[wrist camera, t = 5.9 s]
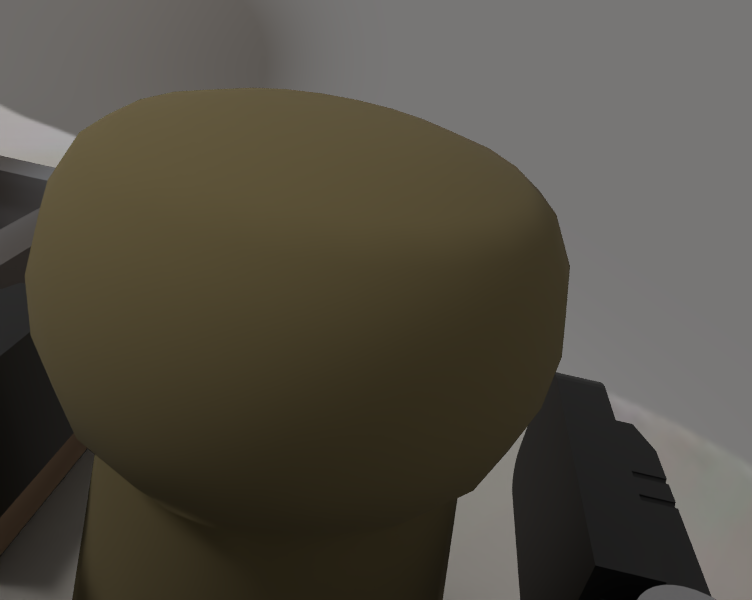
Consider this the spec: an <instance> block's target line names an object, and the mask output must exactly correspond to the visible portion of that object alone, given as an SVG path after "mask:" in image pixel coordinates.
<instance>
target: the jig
mask: <svg viewBox="0 0 752 600" xmlns="http://www.w3.org/2000/svg"><path fill="white" fill-rule="evenodd" d="M54 170H55V168H53V167H49V166H44V165H40V164H35V163H31V162H26V161H22V160H17V159H13V158H8V157H4V156H0V289H3V288H6V287H9V286H12V285H15V284H18V283H24V284H25V272H26V267H27V263H28V258H29V254H30V249H31V245H32V240H33V236H34V231H35V227H36V223H37V218H38V214H39V210H40V206H41V203H42V199H43V195H44V192H45V188H46V184H47V181H48V179H49V177H50V176H51V174H52V173H53V171H54ZM86 449H87V447H86V446H84V445H83V444H82V443H81V442H80V441H78V440H77V439H76V436H75V434H74V433H73V434H72V436H71V437H70V438H69V439H68V440H67V441H66V442H65V444H64V445H63V446H62V447H61V448H60V449H59V451H58V452H57V453H56V454H55V455H54V456H53V457H52V459H51V460H50V461H49V462H48V463H47V464H46V466H45V467H44V468H43V469H42V470H41V471H40V472H39V474H38V475H37V476H36V477H35V478H34V479H33V481H32V482H31V483H30V484H29V485H28V486H27V487H26V489H25V490H24V491H23V492H22V493H21V494H20V496H19V497H18V498H17V499H16V500H15V501H14V502H13V504H12V505H11V506H10V507H9V508H8V509H7V511H6V512H5V513H4V514H3V515H2V516H1V517H0V555H1V554H2V553H3V552H4V550H5V549H6V548H7V547H8V546H9V544H10V543H11V542H12V541H13V539H14V538H15V537H16V536H17V534H18V533H19V532H20V531H21V529H22V528H23V527H24V526H25V525H26V523H27V522H28V521H29V520H30V518H31V517H32V516H33V515H34V513H35V512H36V511H37V510H38V509H39V507H40V506H41V505H42V504H43V502H44V501H45V500H46V499H47V497H48V496H49V495H50V494H51V492H52V491H53V490H54V489H55V488H56V486H57V485H58V484H59V483H60V481H61V480H62V479H63V478H64V476H65V475H66V474H67V473H68V471H69V470H70V469H71V468H72V467H73V465H74V464H75V463H76V462H77V460H78V459H79V458H80V457H81V455H82V454H83V453H84V452H85V451H86Z"/></svg>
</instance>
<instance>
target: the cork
mask: <svg viewBox="0 0 752 600" xmlns="http://www.w3.org/2000/svg"><path fill="white" fill-rule="evenodd" d="M569 270H570V265H569V261H568V258H567V254H566V250H565V246H564V243H563V238H562V235H561V231H560V227H559V223H558V219H557V216H556V214H555V212H554V211H553V209H552V208H551V207H550V205H549V204H548V202H547V201H546V199H545V198H544V197H543V195H542V194H541V193H540V191H539V190H538V189H537V188H536V187H535V186H534V185H533V184H532V183H531V182H530V181H529V180H528V179H527V178H526V177H525V175H524V174H523V173H522V172H521V171H519V169H518V168H517V167H516V166H514V165H513V164H511V163H510V162H508V161H507V160H505V159H504V158H502V157H501V156H499V155H498V154H497V153H495V152H494V151H492V150H491V149H489V148H487V147H485V146H482V145H480V144H478V143H476V142H474V141H471V140H469V139H467V138H465V137H463V136H460V135H458V134H456V133H454V132H452V131H449V130H447V129H445V128H442V127H440V126H438V125H435V124H433V123H431V122H428V121H426V120H423V119H421V118H418V117H415V116H412V115H409V114H406V113H403V112H400V111H397V110H394V109H391V108H387V107H383V106H379V105H375V104H371V103H367V102H363V101H359V100H354V99H349V98H343V97H338V96H332V95H327V94H322V93H313V92H305V91H296V90H288V89H269V88H236V89H215V90H196V91H179V92H171V93H167V94H163V95H158V96H153V97H149V98H144V99H140V100H138V101H136V102H134V103H131V104H129V105H127V106H125V107H123V108H121V109H119V110H117V111H115V112H112V113H110V114H108V115H106V116H105V117H104V118H102V119H100V120H98V121H97V122H95V123H94V124H92V125H90V126H89V127H87V128H86V129H84V130H83V131H81V132H80V133H79V134H78V135H77V137H76V138H75V140H74V141H73V143H72V144H71V146H70V147H69V149H68V150H67V152H66V153H65V155H64V156H63V158H62V159H61V161H60V162H59V164H58V165H57V167H56V168H55V170H54V171H53V173H52V174H51V176H50V177H49V179H48V181H47V184H46V188H45V192H44V195H43V199H42V203H41V206H40V210H39V214H38V218H37V223H36V227H35V231H34V236H33V240H32V245H31V249H30V254H29V258H28V263H27V267H26V272H25V284H26V294H27V304H28V314H29V324H30V334H31V337H32V340H33V342H34V344H35V347H36V349H37V351H38V354H39V356H40V358H41V361H42V363H43V365H44V368H45V370H46V372H47V375H48V377H49V380H50V382H51V384H52V387H53V389H54V391H55V393H56V395H57V397H58V400H59V402H60V404H61V406H62V408H63V410H64V413H65V415H66V417H67V419H68V421H69V423H70V426H71V428H72V430H73V432H74V434H75V436H76V439H77V440H78V441H80V442H81V443H82V444H83V445H84V446H86V447H87V448H88V449H89V450H90V451H92V452H93V453H94V454H95V456H94V462H93V469H92V475H91V482H90V488H89V495H88V501H87V508H86V514H85V521H84V527H83V534H82V540H81V546H80V553H79V559H78V566H77V572H76V579H75V585H74V592H73V598H72V600H443V593H444V586H445V580H446V573H447V566H448V559H449V552H450V545H451V539H452V532H453V525H454V518H455V511H456V504H457V498H458V497H461V496H463V495H465V494H467V493H469V492H471V491H473V490H474V489H475V488H476V487H477V486H478V484H479V483H480V482H481V481H482V480H483V479H484V478H485V477H486V475H487V474H488V473H489V472H490V471H491V470H492V469H493V467H494V466H495V465H496V464H497V463H498V462H499V461H500V460H501V458H502V457H503V456H504V455H505V454H506V453H507V452H508V450H509V449H510V448H511V447H512V445H513V444H514V443H515V441H516V440H517V439H518V438H519V436H520V435H521V434H522V432H523V431H524V430H525V429H526V427H527V426H528V425H529V423H530V422H531V421H532V420H533V418H534V417H535V416H536V414H537V413H538V412H539V411H540V409H541V408H542V405H543V402H544V400H545V397H546V395H547V392H548V390H549V387H550V385H551V382H552V380H553V377H554V375H555V372H556V370H557V367H558V365H559V362H560V360H561V357H562V348H563V338H564V327H565V318H566V305H567V294H568V281H569Z"/></svg>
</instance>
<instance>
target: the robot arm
mask: <svg viewBox="0 0 752 600" xmlns="http://www.w3.org/2000/svg"><path fill="white" fill-rule="evenodd" d="M73 433H74V432H73V430H72V428H71V426H70V423H69V421H68V419H67V417H66V415H65V413H64V410H63V408H62V406H61V404H60V402H59V400H58V397H57V395H56V393H55V391H54V389H53V387H52V384H51V382H50V380H49V377H48V375H47V372H46V370H45V368H44V365H43V363H42V361H41V358H40V356H39V354H38V351H37V349H36V347H35V344H34V342H33V340H32V337H31V334H30V324H29V314H28V304H27V294H26V284H24V283H18V284H15V285H12V286H9V287H6V288H3V289H0V517H1V516H2V515H3V514H4V513H5V512H6V511H7V509H8V508H9V507H10V506H11V505H12V504H13V502H14V501H15V500H16V499H17V498H18V497H19V496H20V494H21V493H22V492H23V491H24V490H25V489H26V487H27V486H28V485H29V484H30V483H31V482H32V481H33V479H34V478H35V477H36V476H37V475H38V474H39V472H40V471H41V470H42V469H43V468H44V467H45V466H46V464H47V463H48V462H49V461H50V460H51V459H52V457H53V456H54V455H55V454H56V453H57V452H58V451H59V449H60V448H61V447H62V446H63V445H64V444H65V442H66V441H67V440H68V439H69V438H70V437H71V436H72V434H73ZM512 495H513V508H514V521H515V535H516V548H517V561H518V575H519V588H520V600H716V599H714V598H712V597H711V594H710V592H709V589H708V586H707V584H706V581H705V578H704V576H703V573H702V571H701V568H700V565H699V563H698V560H697V558H696V555H695V552H694V550H693V547H692V544H691V542H690V539H689V537H688V534H687V531H686V529H685V526H684V523H683V521H682V518H681V516H680V513H679V510H678V509H677V508H675V503H676V502H675V500H674V497H673V495H672V492H671V489H670V487H669V485H668V484H666V476H665V474H664V471H663V468H662V466H661V463H660V461H659V458H658V455H657V453H656V451H655V449H654V448H653V447H652V446H651V445H650V444H649V443H648V441H647V440H646V439H645V438H644V437H643V436H642V434H641V433H640V432H639V431H638V430H637V429H636V428H635V426H634V425H633V424H629V423H625V422H621V421H616V420H615V417H614V414H613V411H612V408H611V404H610V401H609V398H608V395H607V392H606V389H605V386H604V385H603V384H602V383H601V382H596V381H592V380H587V379H583V378H579V377H574V376H570V375H565V374H561V373H557V372H555V375H554V377H553V380H552V382H551V385H550V387H549V390H548V392H547V395H546V397H545V400H544V402H543V405H542V408H541V409H540V411H539V412H538V413H537V414H536V416H535V417H534V418H533V420H532V421H531V422H530V423H529V425H528V427H527V430H526V432H525V435H524V438H523V440H522V443H521V446H520V449H519V452H518V455H517V459H516V463H515V468H514V474H513V484H512Z"/></svg>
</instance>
